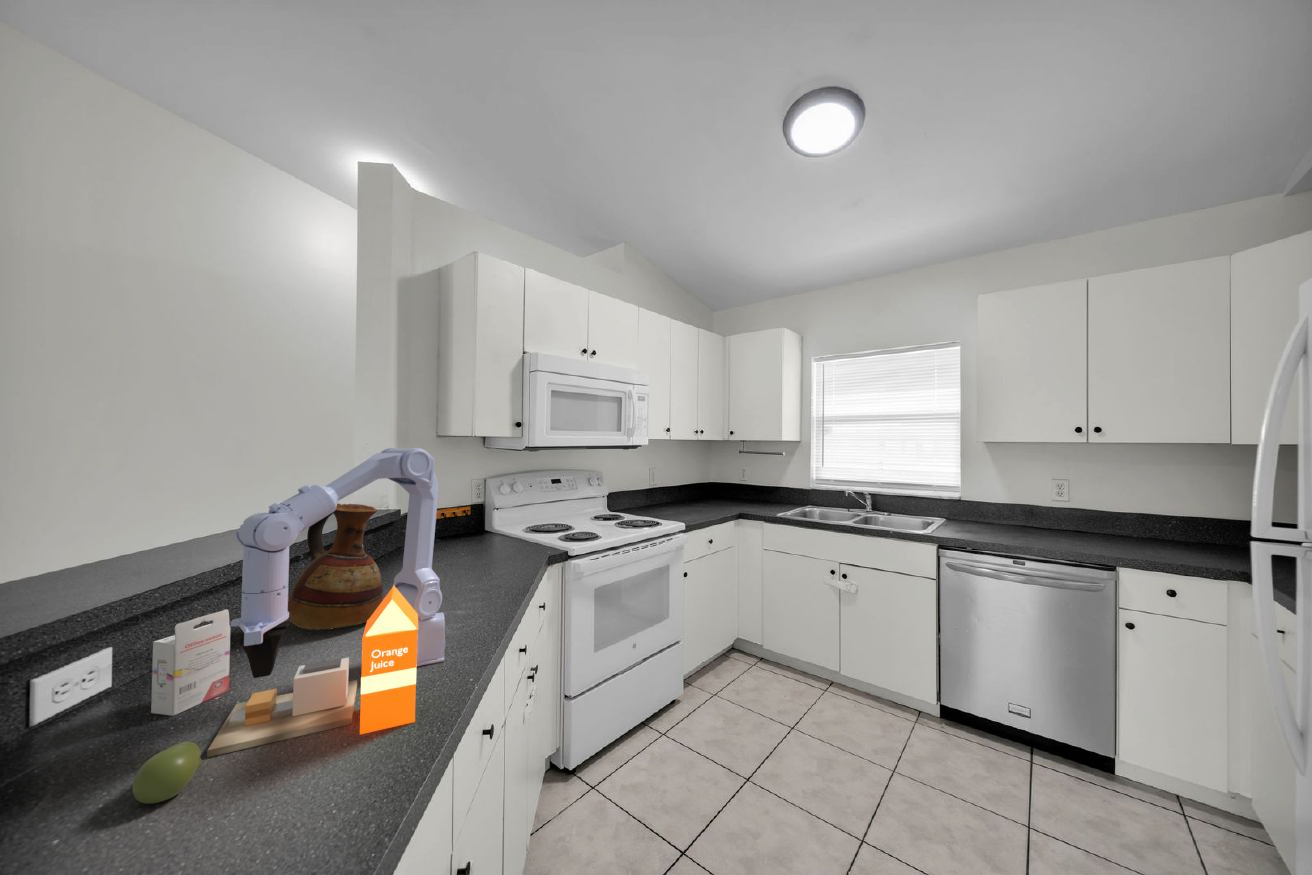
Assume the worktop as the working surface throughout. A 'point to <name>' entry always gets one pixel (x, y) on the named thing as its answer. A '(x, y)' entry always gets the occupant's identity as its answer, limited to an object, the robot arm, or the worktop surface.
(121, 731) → the worktop surface
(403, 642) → the orange juice
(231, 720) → the steel rail
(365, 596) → the ceramic pitcher
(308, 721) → the mounting board
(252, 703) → the block
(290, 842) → the worktop surface
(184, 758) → the olive green oval piece
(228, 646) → the ink cartridge box
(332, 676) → the block
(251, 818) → the worktop surface
